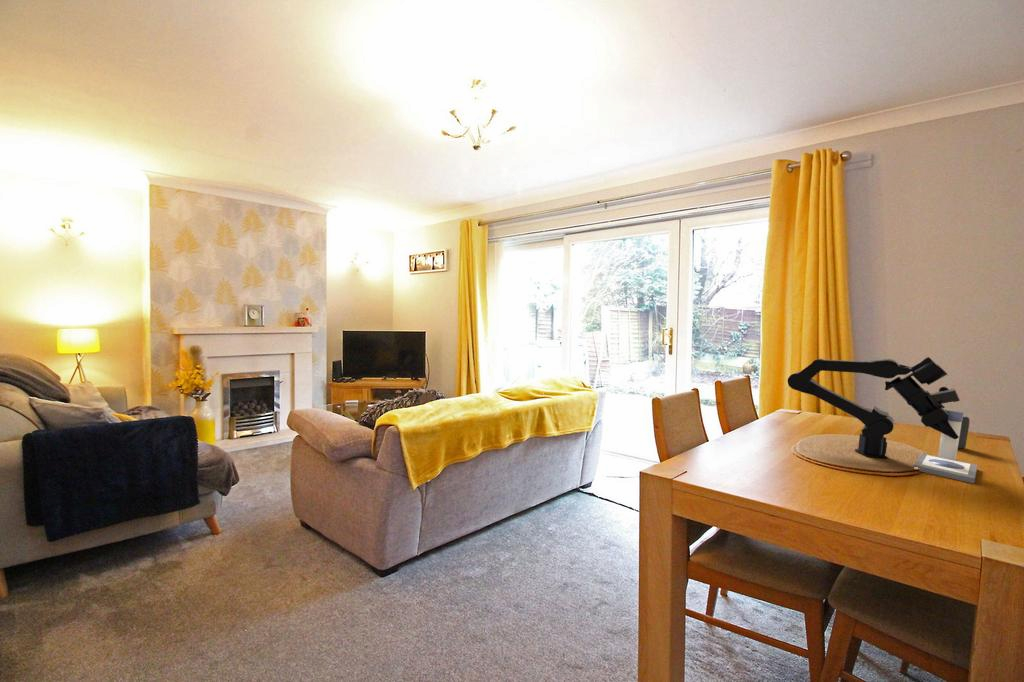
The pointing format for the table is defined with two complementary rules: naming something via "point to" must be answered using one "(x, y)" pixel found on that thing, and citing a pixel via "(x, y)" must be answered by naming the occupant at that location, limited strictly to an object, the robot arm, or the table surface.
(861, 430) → the robot arm
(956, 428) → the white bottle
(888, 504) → the table surface
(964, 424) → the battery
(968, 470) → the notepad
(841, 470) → the table surface
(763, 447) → the table surface
